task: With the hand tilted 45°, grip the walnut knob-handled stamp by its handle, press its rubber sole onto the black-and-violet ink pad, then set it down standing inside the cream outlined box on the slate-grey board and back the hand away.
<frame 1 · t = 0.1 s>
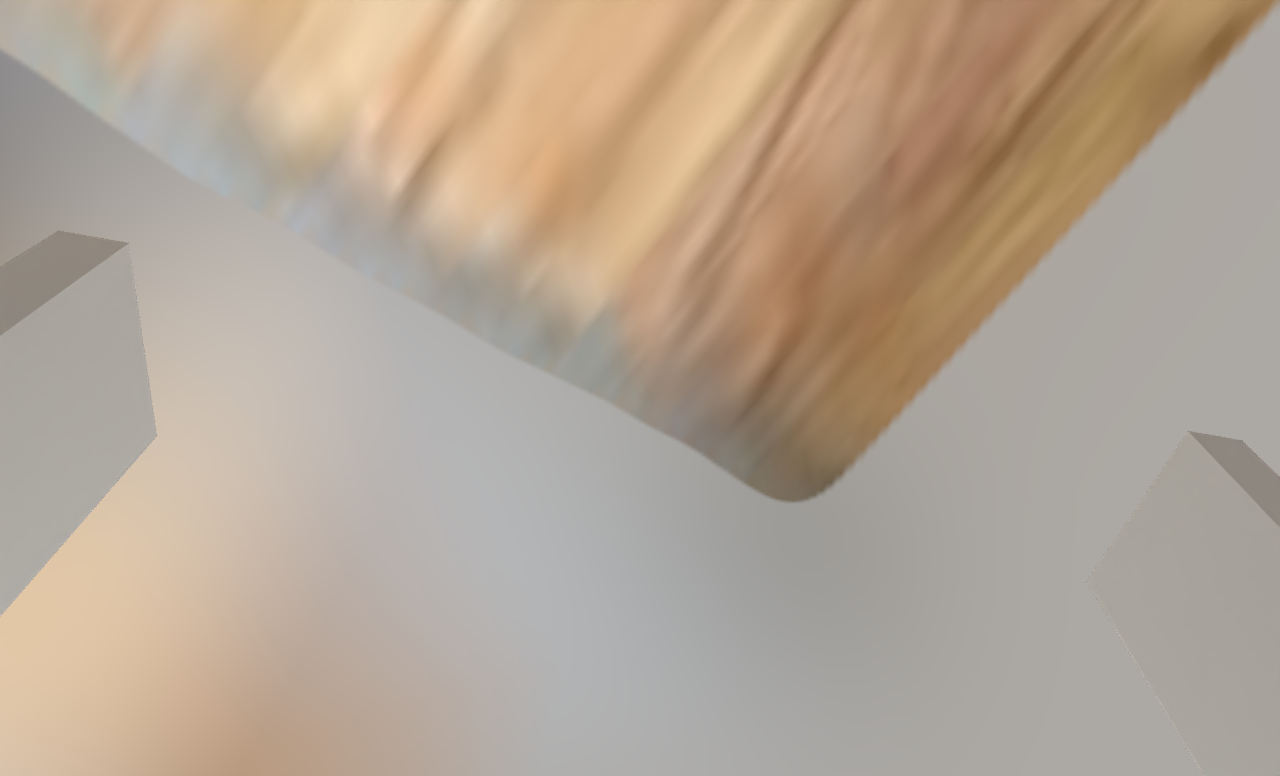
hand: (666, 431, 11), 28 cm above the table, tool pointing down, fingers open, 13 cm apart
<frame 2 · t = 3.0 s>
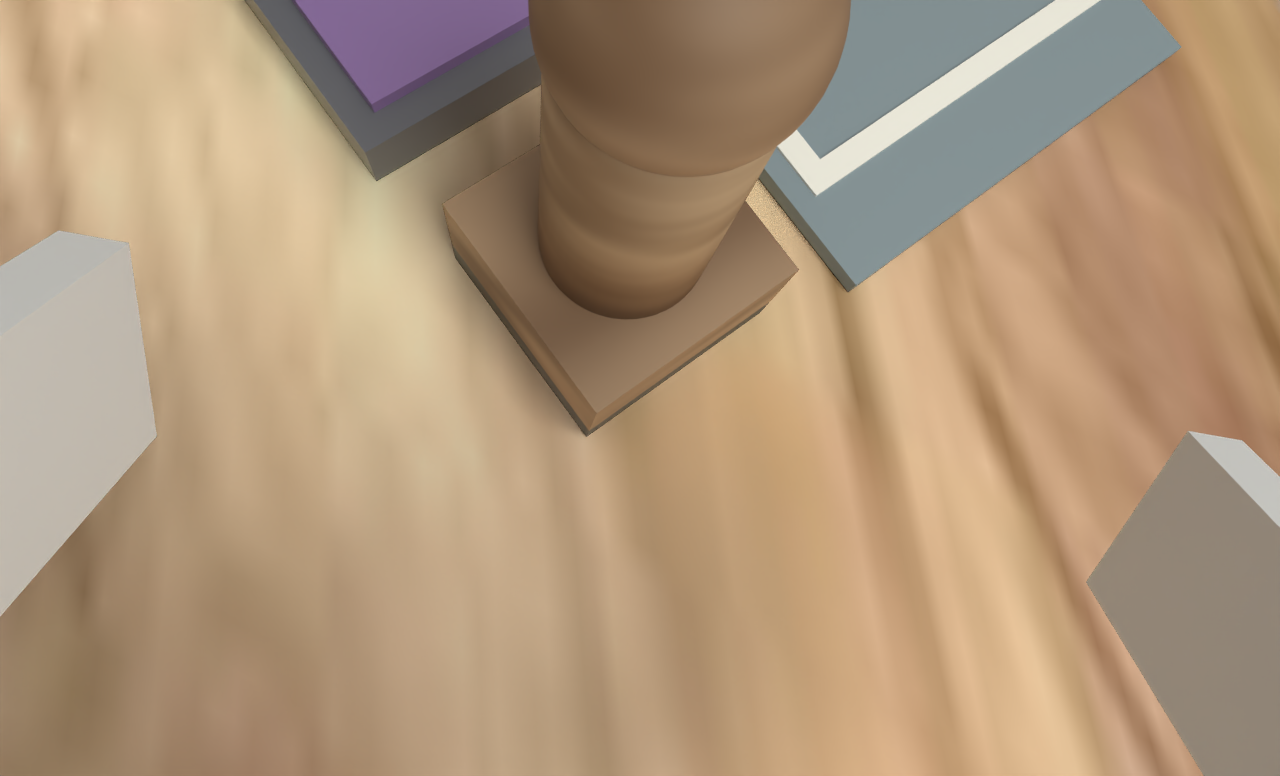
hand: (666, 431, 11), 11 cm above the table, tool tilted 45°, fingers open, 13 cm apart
stamp: (610, 286, 23), on the table
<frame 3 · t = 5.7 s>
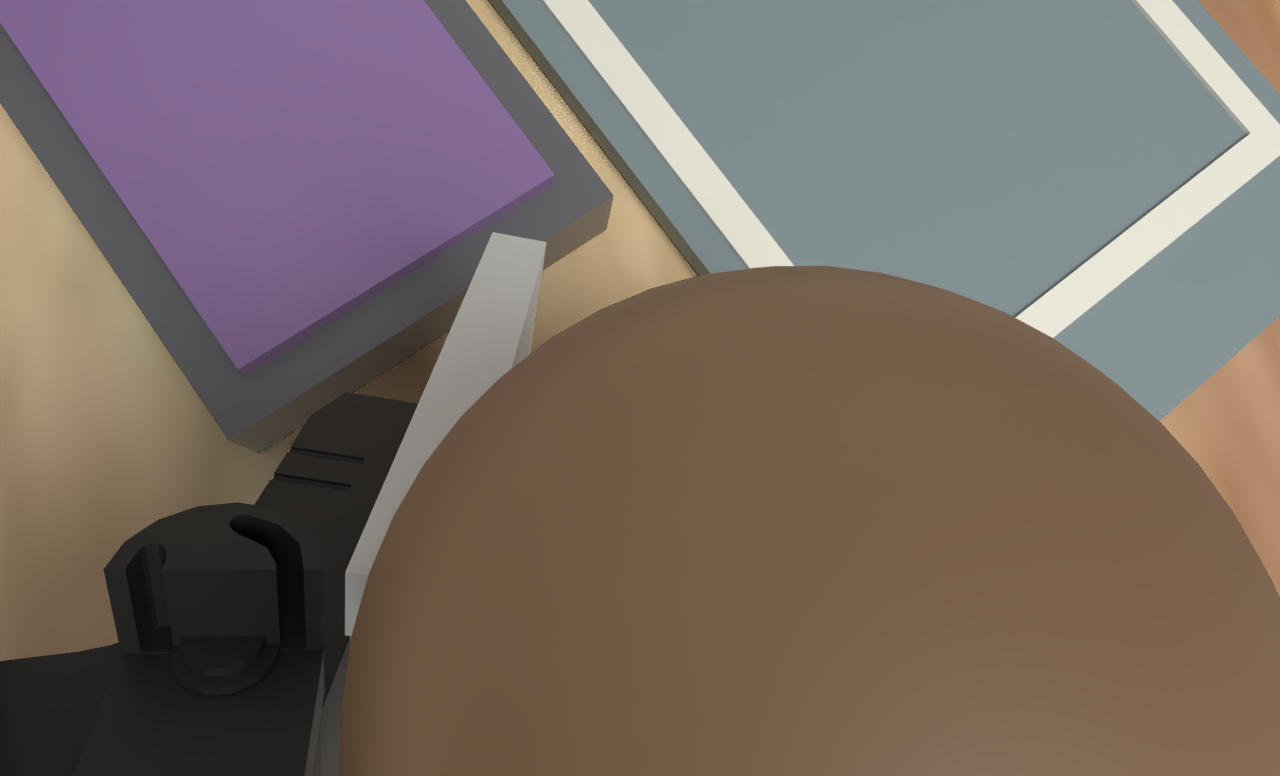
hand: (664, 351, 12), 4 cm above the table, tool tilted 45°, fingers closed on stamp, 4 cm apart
stamp: (601, 599, 16), on the table, touching gripper
ink pad: (274, 100, 17), on the table
form board: (913, 81, 19), on the table
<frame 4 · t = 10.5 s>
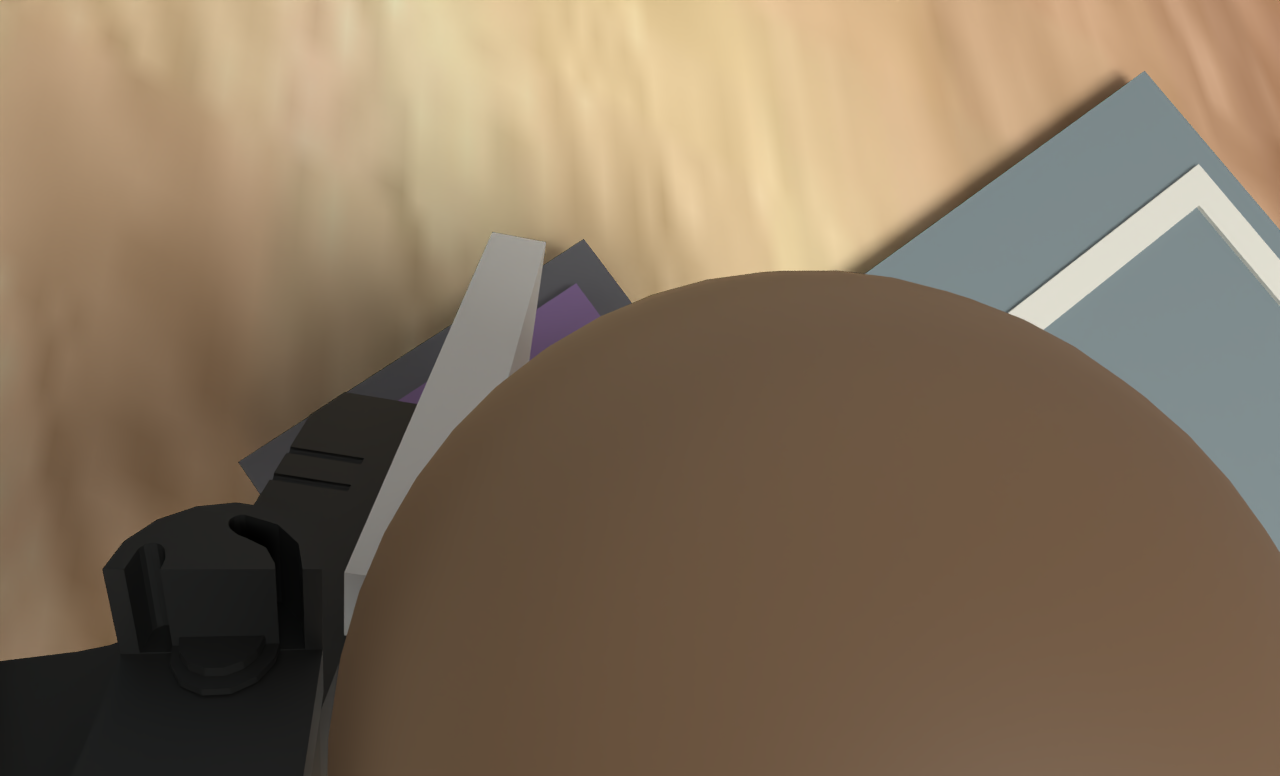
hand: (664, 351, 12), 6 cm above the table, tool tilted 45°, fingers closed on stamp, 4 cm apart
stamp: (601, 603, 15), point 2 cm above the table, touching gripper, ink pad
ink pad: (592, 590, 17), on the table
form board: (1178, 519, 19), on the table
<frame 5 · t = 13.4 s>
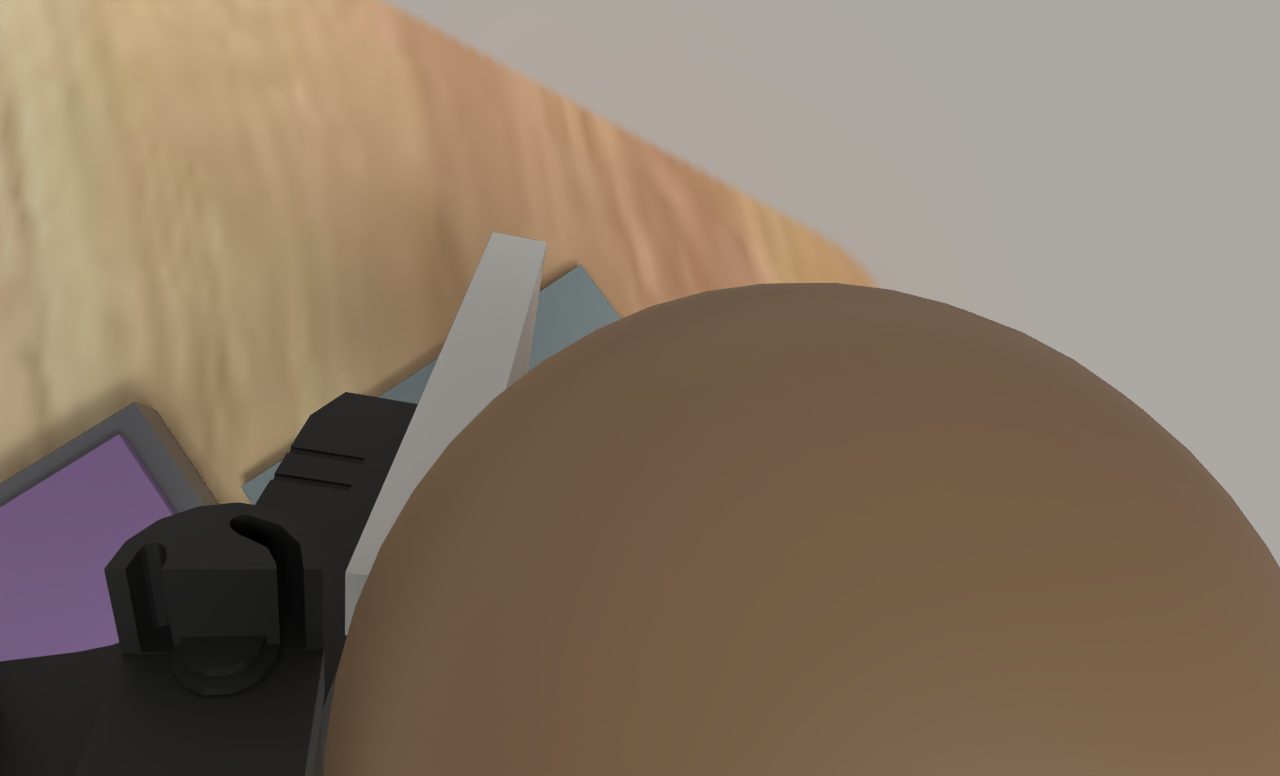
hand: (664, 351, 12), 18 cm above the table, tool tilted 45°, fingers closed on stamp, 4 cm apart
stamp: (601, 608, 15), point 14 cm above the table, touching gripper
ink pad: (141, 629, 27), on the table
form board: (568, 578, 29), on the table
when the fingers open (6 cm above the table, at t = 15.7 s): stamp drops 1 cm, resting on form board.
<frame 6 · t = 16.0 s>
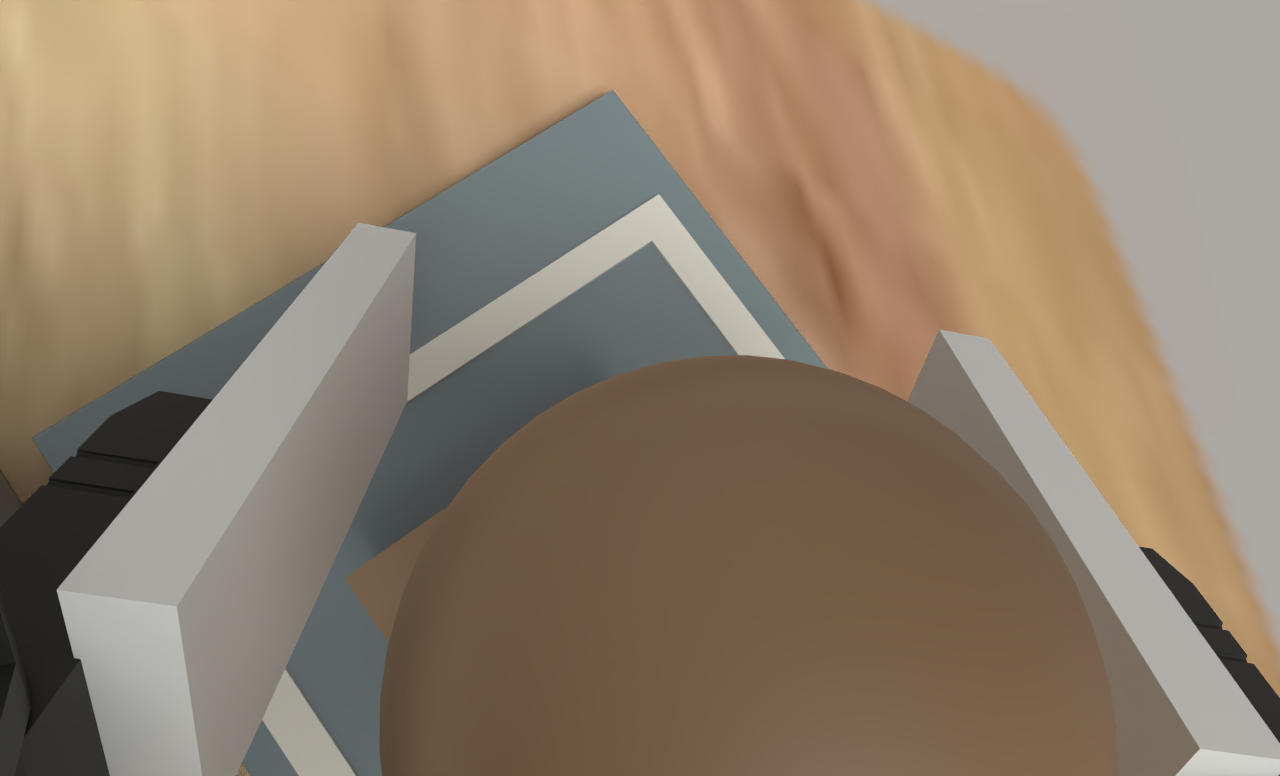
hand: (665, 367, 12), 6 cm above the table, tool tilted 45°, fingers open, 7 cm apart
stamp: (596, 606, 17), point 1 cm above the table, touching form board
form board: (594, 596, 17), on the table
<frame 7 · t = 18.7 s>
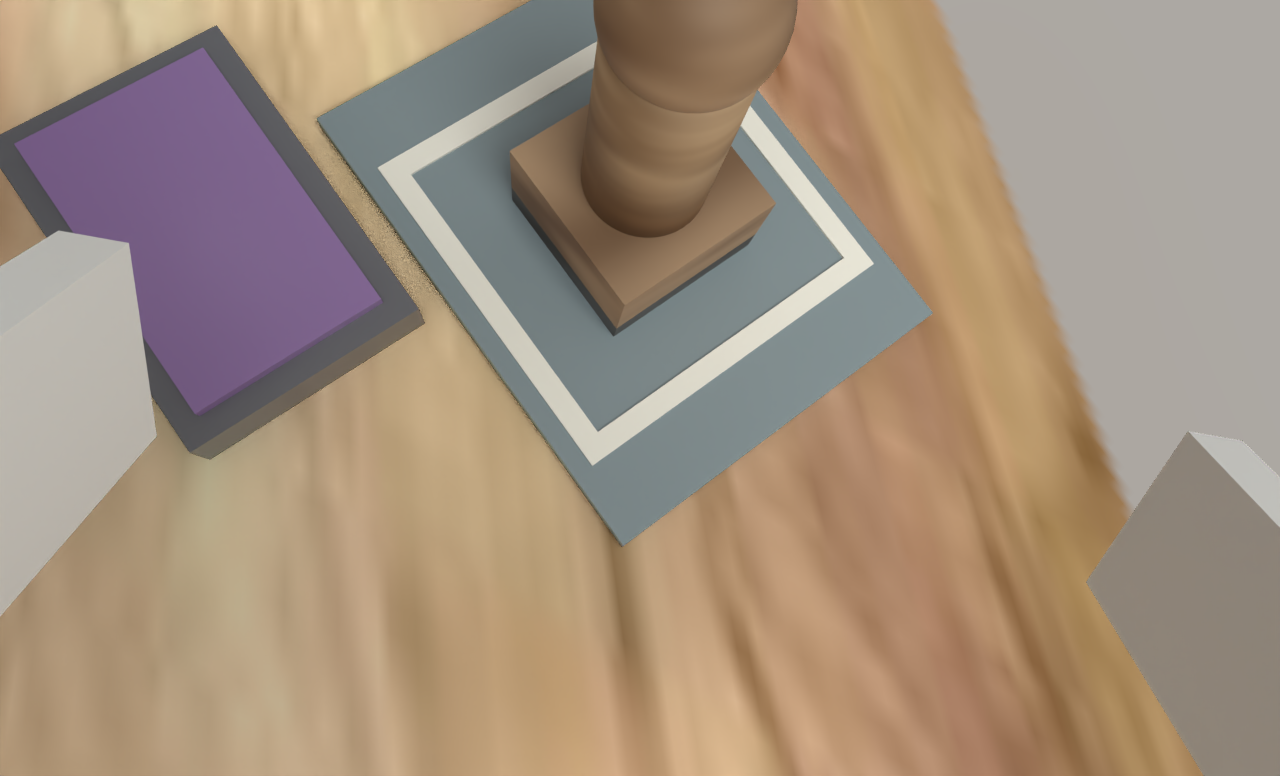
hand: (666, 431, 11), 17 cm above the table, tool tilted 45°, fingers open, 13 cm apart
stamp: (631, 222, 29), point 1 cm above the table, touching form board
ink pad: (222, 245, 28), on the table
form board: (630, 224, 30), on the table
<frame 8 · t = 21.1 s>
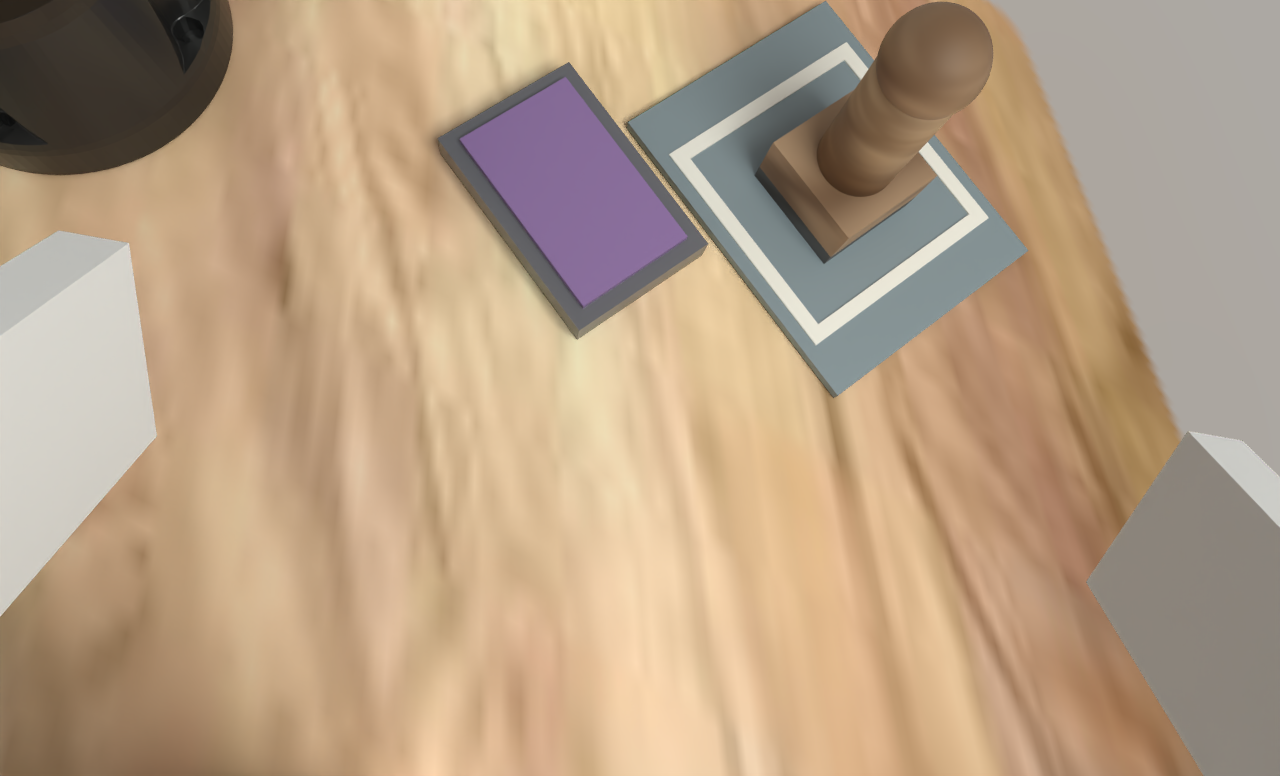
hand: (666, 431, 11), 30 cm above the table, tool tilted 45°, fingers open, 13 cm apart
stamp: (831, 190, 44), point 1 cm above the table, touching form board
ink pad: (572, 205, 43), on the table
form board: (827, 192, 45), on the table
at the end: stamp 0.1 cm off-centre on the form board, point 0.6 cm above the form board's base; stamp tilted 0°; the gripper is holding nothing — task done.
